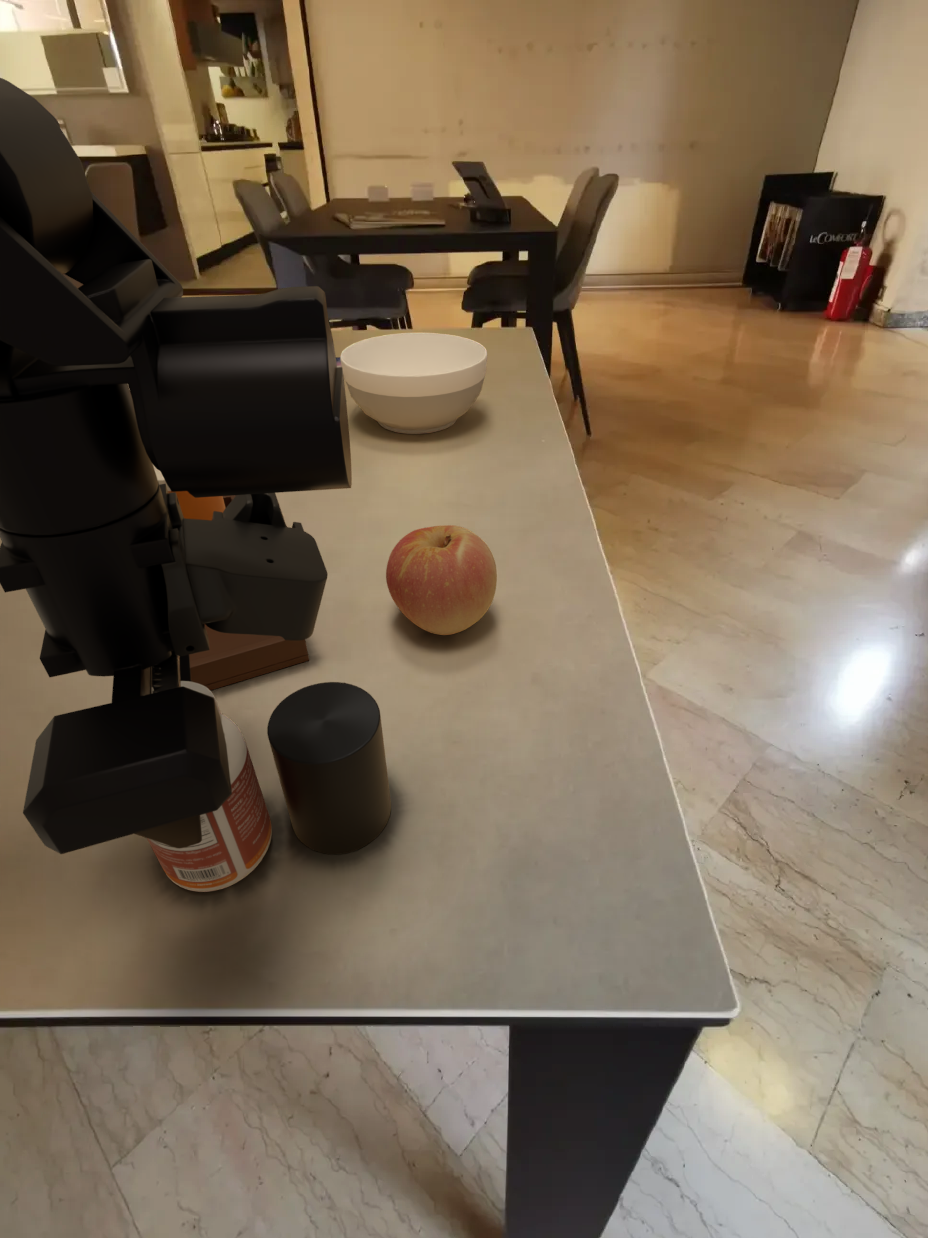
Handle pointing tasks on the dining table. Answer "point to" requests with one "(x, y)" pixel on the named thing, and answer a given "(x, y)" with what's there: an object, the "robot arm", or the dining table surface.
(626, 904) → the dining table surface
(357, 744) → the charcoal tin
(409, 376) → the bowl
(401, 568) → the apple
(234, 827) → the pill bottle
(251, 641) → the walnut tray
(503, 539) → the dining table surface
